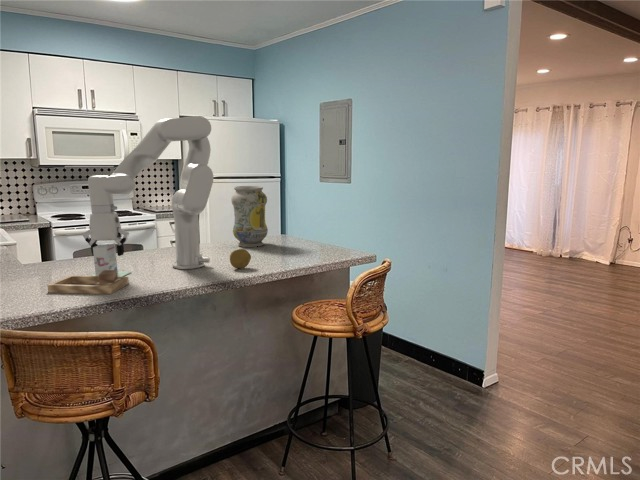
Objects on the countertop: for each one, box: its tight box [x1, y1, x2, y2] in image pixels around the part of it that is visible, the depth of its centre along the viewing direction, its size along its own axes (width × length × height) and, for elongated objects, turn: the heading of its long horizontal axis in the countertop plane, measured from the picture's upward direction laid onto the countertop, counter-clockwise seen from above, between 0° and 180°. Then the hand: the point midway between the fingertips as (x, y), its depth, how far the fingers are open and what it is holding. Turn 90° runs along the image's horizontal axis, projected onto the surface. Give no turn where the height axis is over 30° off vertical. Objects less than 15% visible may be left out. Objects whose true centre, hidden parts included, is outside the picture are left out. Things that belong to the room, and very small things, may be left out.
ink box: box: [93, 242, 119, 276], centre depth 172 cm, size 9×5×12 cm, turn 2°
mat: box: [90, 270, 132, 277], centre depth 173 cm, size 12×14×1 cm
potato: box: [229, 248, 252, 269], centre depth 187 cm, size 7×8×8 cm
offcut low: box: [95, 278, 121, 286], centre depth 158 cm, size 5×7×3 cm
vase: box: [231, 185, 269, 248], centre depth 236 cm, size 18×18×30 cm
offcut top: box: [99, 269, 118, 283], centre depth 157 cm, size 4×6×3 cm
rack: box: [47, 274, 130, 295], centre depth 158 cm, size 21×13×2 cm, turn 86°
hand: (108, 255), depth 172 cm, fingers open, 9 cm apart
